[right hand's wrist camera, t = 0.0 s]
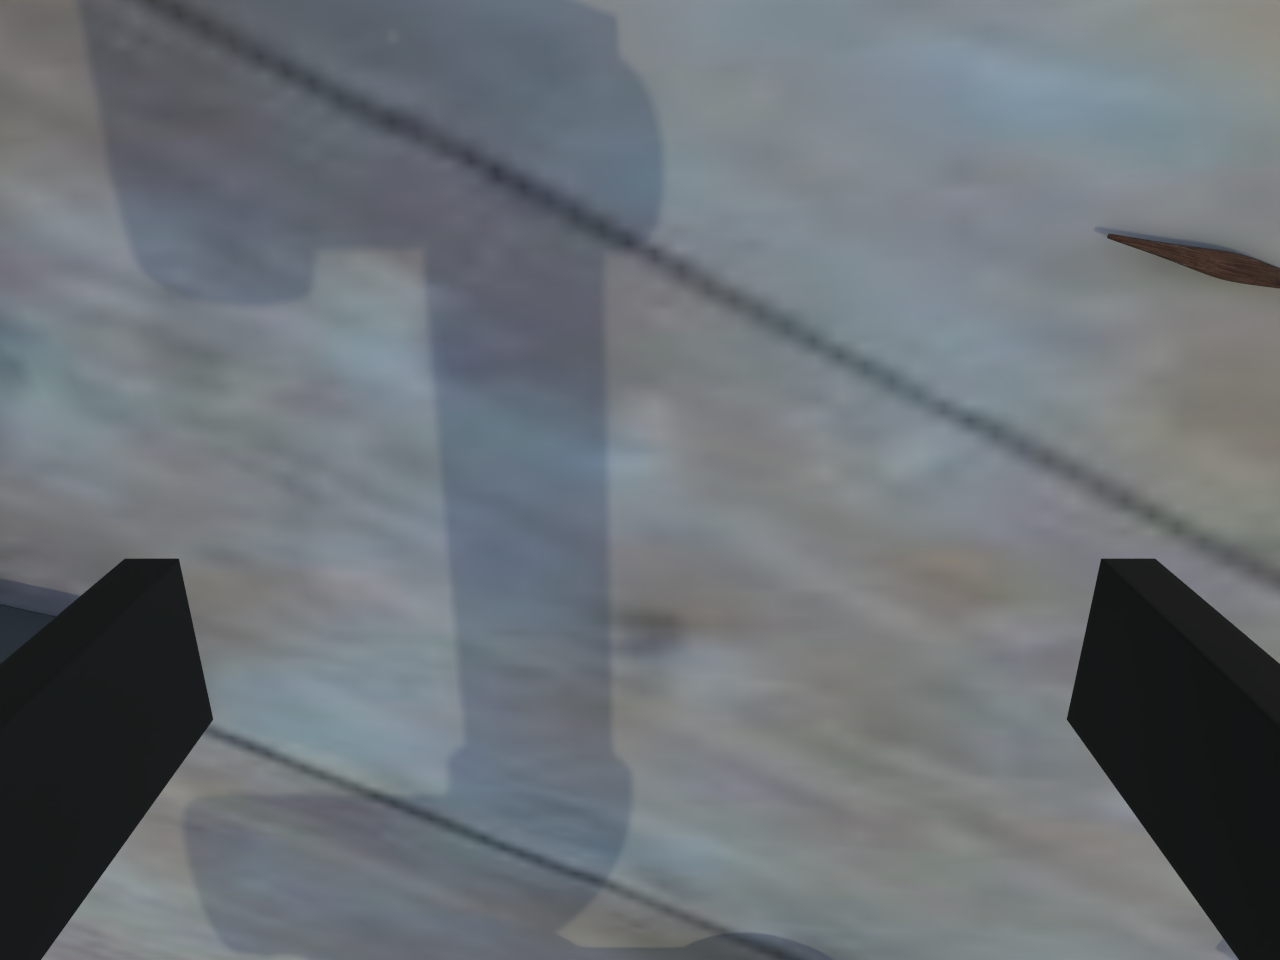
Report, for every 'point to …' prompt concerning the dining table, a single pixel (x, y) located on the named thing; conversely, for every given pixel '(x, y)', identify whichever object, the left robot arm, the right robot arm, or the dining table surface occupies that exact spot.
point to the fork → (1210, 261)
